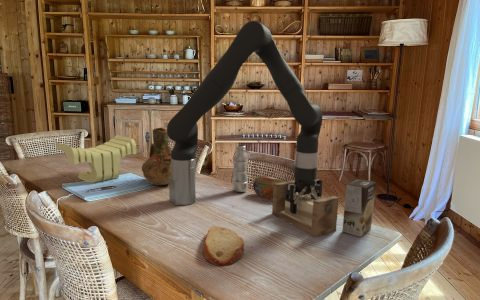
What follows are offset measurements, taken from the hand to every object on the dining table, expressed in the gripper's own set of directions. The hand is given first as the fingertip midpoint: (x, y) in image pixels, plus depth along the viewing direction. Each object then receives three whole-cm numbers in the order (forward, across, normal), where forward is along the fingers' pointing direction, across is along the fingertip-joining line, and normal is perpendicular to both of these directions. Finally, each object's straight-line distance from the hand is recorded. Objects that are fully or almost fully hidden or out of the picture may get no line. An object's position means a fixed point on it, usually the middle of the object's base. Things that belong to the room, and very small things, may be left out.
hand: (303, 211), depth 123 cm
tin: (+4, +6, +26) cm, 27 cm away
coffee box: (+4, +11, -14) cm, 18 cm away
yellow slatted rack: (+4, -48, +86) cm, 99 cm away
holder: (+4, 0, 0) cm, 4 cm away
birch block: (+2, 0, 0) cm, 2 cm away
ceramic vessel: (+4, -26, +63) cm, 68 cm away
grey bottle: (+4, -1, +38) cm, 38 cm away
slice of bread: (+4, -34, -2) cm, 34 cm away
